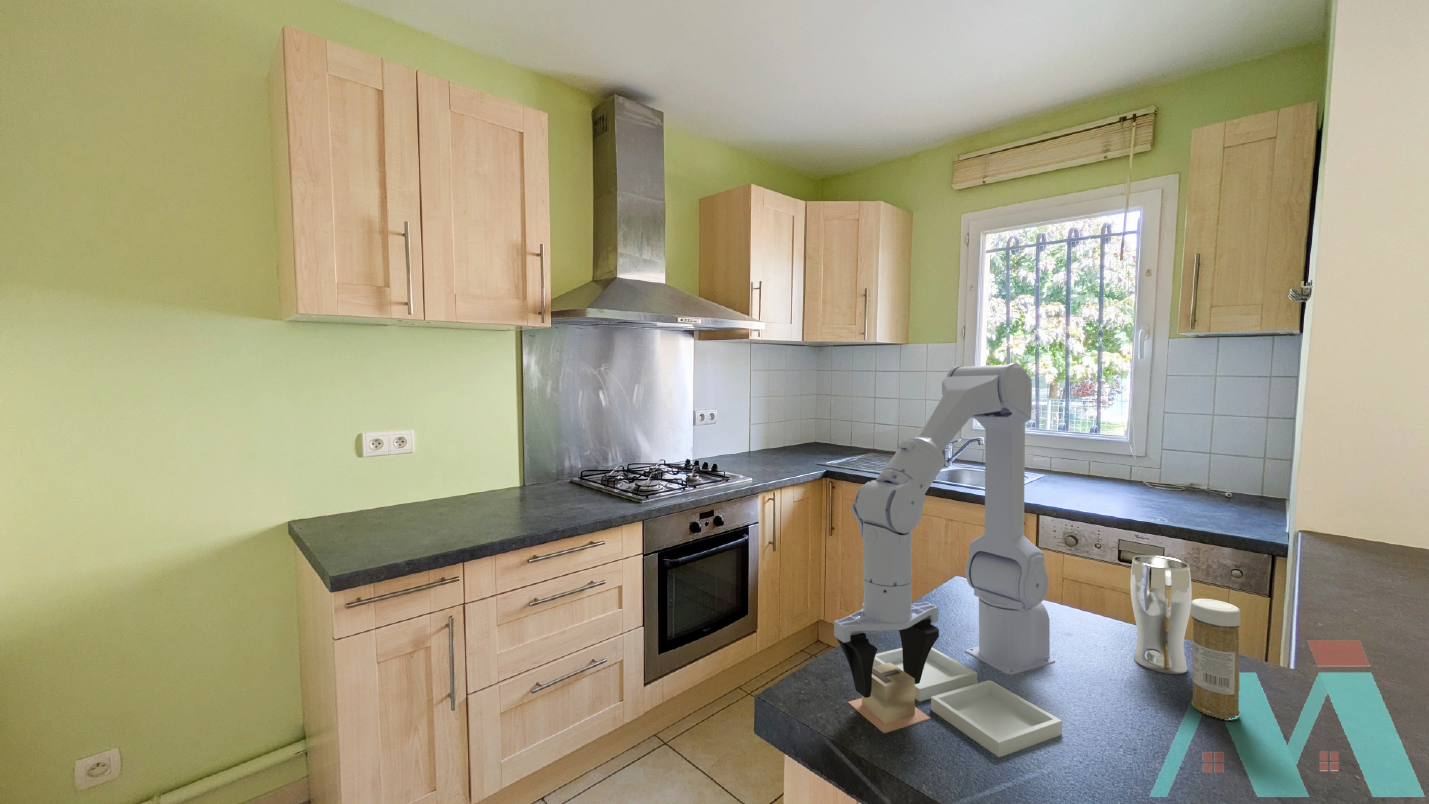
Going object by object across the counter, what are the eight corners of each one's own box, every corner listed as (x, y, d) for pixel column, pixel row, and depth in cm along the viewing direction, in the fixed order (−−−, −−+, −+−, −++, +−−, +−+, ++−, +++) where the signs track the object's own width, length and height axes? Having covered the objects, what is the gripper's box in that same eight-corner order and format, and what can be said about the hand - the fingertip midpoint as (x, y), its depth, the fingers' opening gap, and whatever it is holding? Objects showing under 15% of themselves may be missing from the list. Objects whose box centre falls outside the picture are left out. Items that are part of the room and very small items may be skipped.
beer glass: (1138, 671, 80) (1138, 566, 80) (1124, 649, 86) (1124, 552, 86) (1200, 680, 77) (1200, 571, 77) (1180, 657, 84) (1180, 557, 83)
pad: (891, 693, 75) (891, 689, 75) (930, 722, 69) (930, 717, 69) (848, 705, 72) (847, 701, 72) (884, 736, 66) (884, 732, 66)
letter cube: (890, 696, 73) (890, 661, 73) (914, 714, 69) (914, 677, 69) (861, 704, 72) (861, 668, 72) (885, 723, 68) (884, 685, 68)
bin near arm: (923, 655, 86) (923, 642, 85) (977, 687, 76) (977, 672, 76) (869, 669, 82) (869, 655, 82) (919, 704, 72) (919, 689, 72)
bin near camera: (989, 694, 74) (989, 679, 74) (1062, 737, 65) (1062, 720, 65) (931, 712, 71) (930, 696, 71) (998, 760, 61) (998, 742, 61)
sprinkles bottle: (1245, 714, 69) (1246, 605, 69) (1232, 726, 67) (1233, 614, 66) (1197, 697, 73) (1198, 594, 73) (1184, 708, 71) (1185, 602, 70)
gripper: (910, 561, 77) (911, 660, 77) (819, 577, 71) (820, 683, 71) (950, 577, 70) (951, 685, 70) (853, 595, 65) (854, 713, 65)
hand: (888, 686), depth 70 cm, fingers open, 7 cm apart
